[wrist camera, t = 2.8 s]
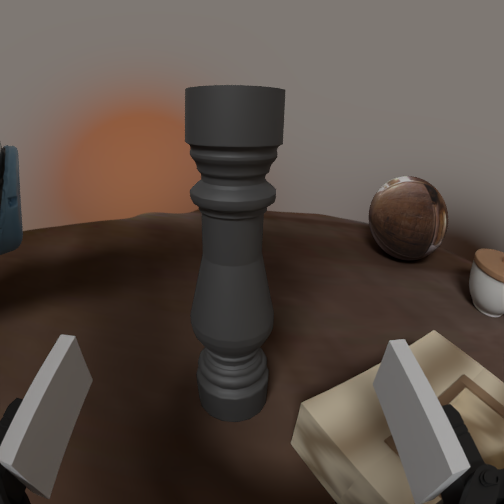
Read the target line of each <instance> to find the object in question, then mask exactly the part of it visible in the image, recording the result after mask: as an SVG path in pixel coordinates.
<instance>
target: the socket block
mask: <svg viewBox="0 0 504 504" xmlns="http://www.w3.org/2000/svg"><path fill="white" fill-rule="evenodd" d="M409 348H410V349H411V351H412V353H413V355H414V356H415V358H416V360H417V362H418V364H419V365H420V367H421V369H422V371H423V372H424V374H425V376H426V378H427V380H428V382H429V383H430V385H431V387H432V389H433V391H434V393H435V395H436V397H437V399H438V400H439V402H440V404H441V406H443V405H447V404H451V405H452V406H453V407H454V408H455V409H456V410H457V411H458V412H459V413H460V415H461V417H462V419H463V421H464V424H465V425H466V427H467V428H468V432H470V434H471V436H472V438H473V440H474V442H475V444H476V446H477V449H478V451H479V453H480V455H481V457H482V459H483V461H484V462H485V463H486V464H489V465H492V466H494V467H496V468H497V469H504V383H503V382H502V381H501V380H499V379H498V378H497V377H495V376H494V375H493V374H492V373H490V372H489V371H488V370H486V369H485V368H484V367H483V366H481V365H480V364H479V363H477V362H476V361H475V360H473V359H472V358H471V357H469V356H468V355H467V354H465V353H464V352H463V351H462V350H460V349H459V348H458V347H456V346H455V345H454V344H452V343H451V342H450V341H448V340H447V339H445V338H444V337H443V336H441V335H440V334H439V333H437V332H436V331H435V330H433V331H432V332H430V333H429V334H427V335H426V336H424V337H423V338H421V339H419V340H418V341H416V342H415V343H413V344H411V345H410V346H409ZM380 364H381V363H379V364H378V365H376V366H374V367H372V368H370V369H369V370H367V371H365V372H363V373H361V374H359V375H357V376H355V377H354V378H352V379H350V380H348V381H346V382H344V383H342V384H340V385H338V386H336V387H334V388H332V389H330V390H328V391H326V392H323V393H321V394H319V395H317V396H315V397H313V398H311V399H308V400H306V401H304V402H302V403H301V406H300V410H299V414H298V418H297V422H296V426H295V430H294V433H293V437H292V441H291V445H292V446H293V447H294V449H295V450H296V451H297V453H298V454H299V455H300V457H301V458H302V459H303V461H304V462H305V463H306V465H307V466H308V467H309V469H310V470H311V471H312V472H313V474H314V475H315V476H316V478H317V479H318V480H319V481H320V483H321V484H322V485H323V487H324V488H325V489H326V490H327V492H328V493H329V494H330V495H331V497H332V498H333V499H334V500H335V501H336V503H337V504H415V502H414V499H413V495H412V492H411V489H410V486H409V483H408V480H407V477H406V474H405V471H404V468H403V465H402V462H401V459H400V456H399V454H398V451H397V448H396V445H395V442H394V440H393V437H392V434H391V431H390V429H389V426H388V423H387V420H386V418H385V415H384V413H383V410H382V407H381V405H380V402H379V399H378V397H377V394H376V392H375V389H374V387H373V382H374V379H375V377H376V374H377V372H378V369H379V367H380ZM441 499H442V497H441V494H439V495H438V496H437V497H436V498H435V499H433V500H431V501H428V502H426V503H423V504H436V503H437V502H439V501H440V500H441Z"/></svg>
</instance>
